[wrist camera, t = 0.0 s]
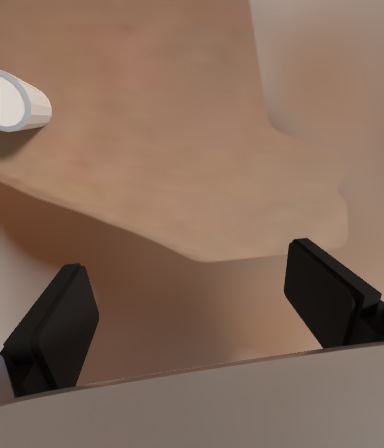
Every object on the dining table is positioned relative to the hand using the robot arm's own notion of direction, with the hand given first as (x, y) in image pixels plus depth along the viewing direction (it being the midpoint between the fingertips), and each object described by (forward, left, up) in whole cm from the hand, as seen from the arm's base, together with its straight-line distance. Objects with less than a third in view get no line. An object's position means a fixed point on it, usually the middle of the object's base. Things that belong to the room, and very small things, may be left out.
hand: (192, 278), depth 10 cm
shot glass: (-11, -20, -32) cm, 39 cm away
